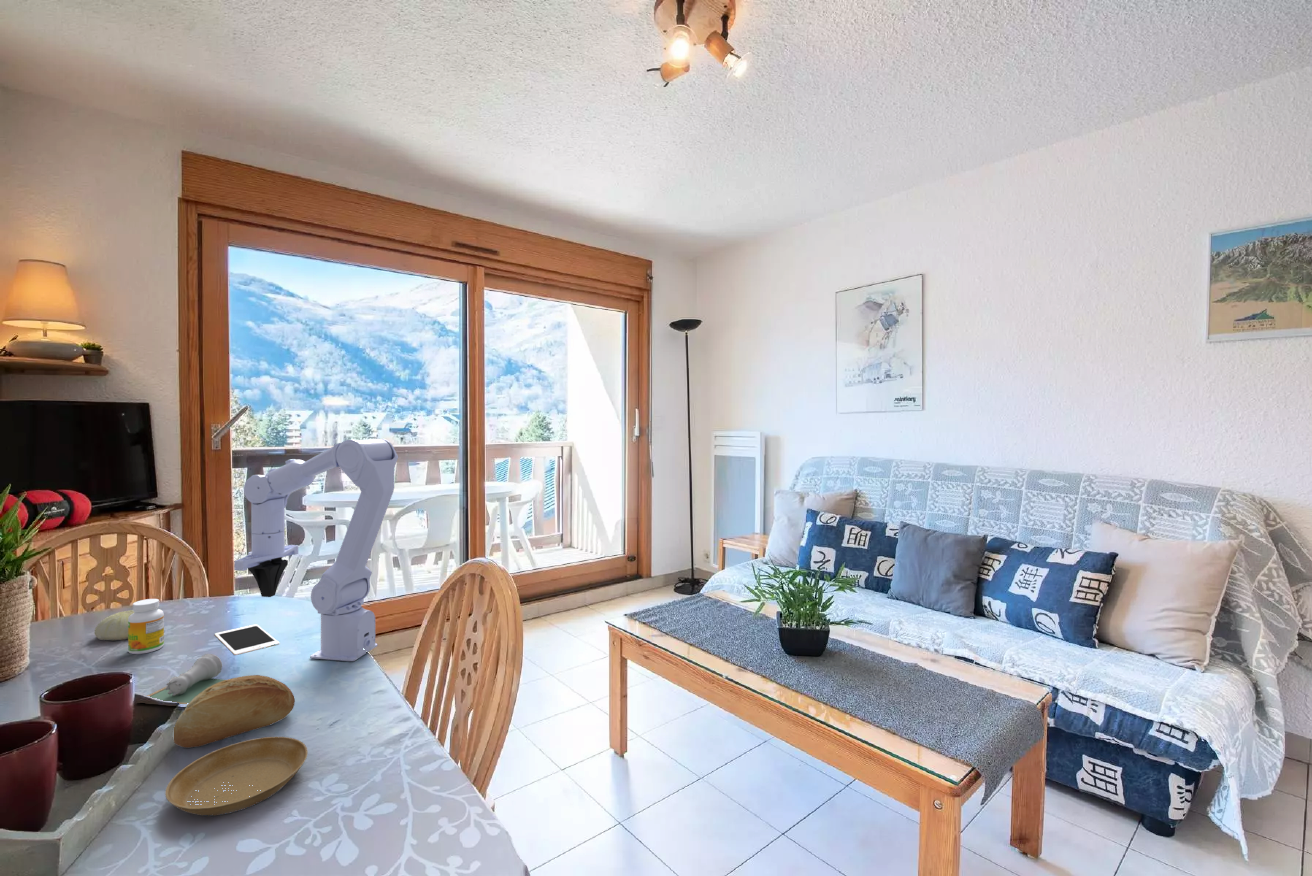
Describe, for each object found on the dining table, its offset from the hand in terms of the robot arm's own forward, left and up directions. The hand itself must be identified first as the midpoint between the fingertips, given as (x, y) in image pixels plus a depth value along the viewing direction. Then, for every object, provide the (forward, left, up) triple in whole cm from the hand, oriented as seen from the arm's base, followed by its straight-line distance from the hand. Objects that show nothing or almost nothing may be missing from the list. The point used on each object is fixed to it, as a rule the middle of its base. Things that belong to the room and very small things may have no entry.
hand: (268, 595), depth 118 cm
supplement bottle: (+21, +7, -10) cm, 24 cm away
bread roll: (-22, +31, -10) cm, 39 cm away
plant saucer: (-33, +42, -10) cm, 54 cm away
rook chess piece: (-3, +16, -7) cm, 18 cm away
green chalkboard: (-5, +22, -10) cm, 24 cm away
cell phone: (+6, -1, -10) cm, 12 cm away
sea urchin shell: (+33, +1, -10) cm, 35 cm away
